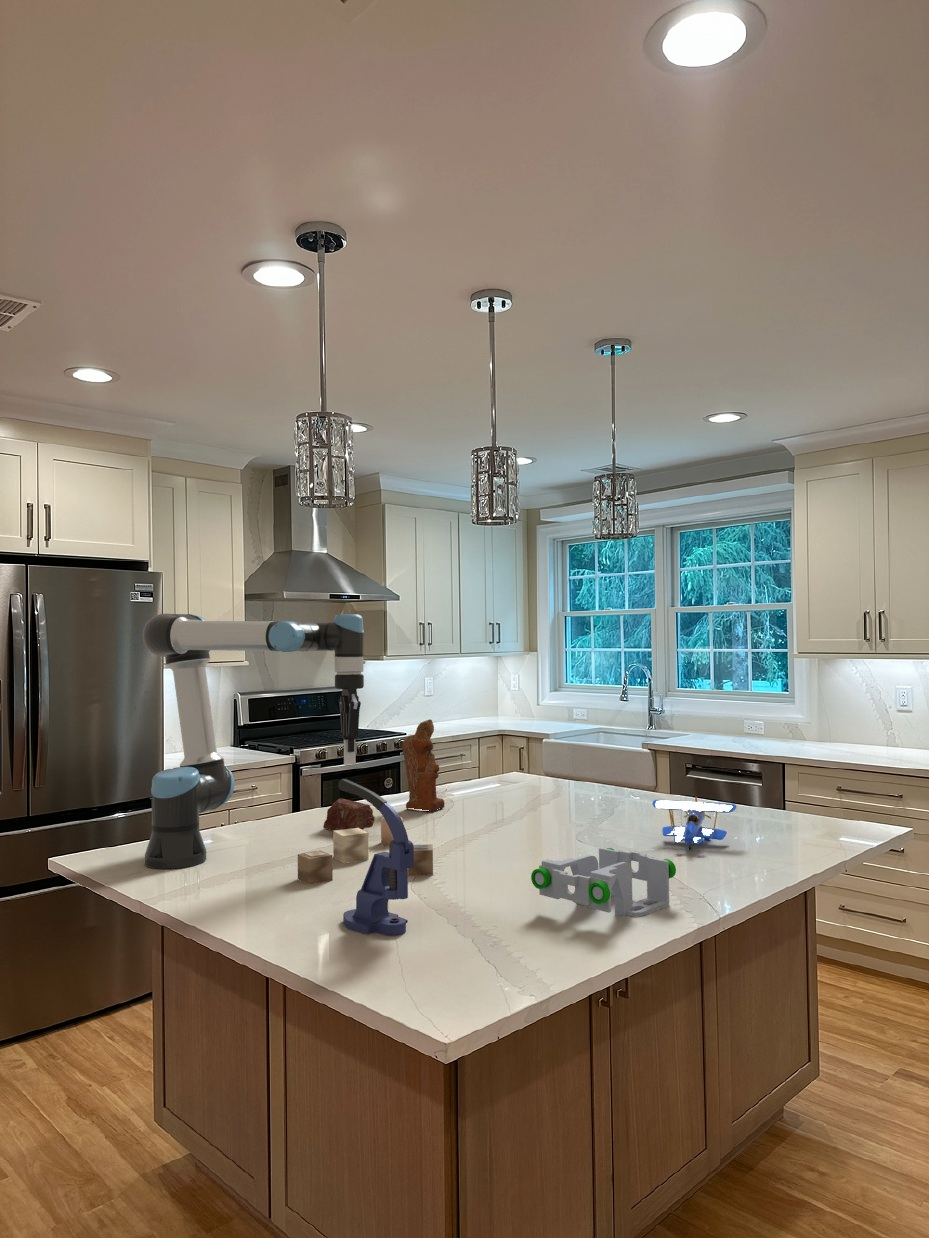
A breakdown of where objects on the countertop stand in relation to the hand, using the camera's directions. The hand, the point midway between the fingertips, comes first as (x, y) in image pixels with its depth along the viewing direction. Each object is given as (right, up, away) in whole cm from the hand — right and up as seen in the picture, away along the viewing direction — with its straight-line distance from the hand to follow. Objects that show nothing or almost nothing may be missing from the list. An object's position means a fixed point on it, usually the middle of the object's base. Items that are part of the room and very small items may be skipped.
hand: (349, 764), depth 225 cm
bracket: (+59, -23, -44) cm, 77 cm away
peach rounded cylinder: (+10, -25, +16) cm, 31 cm away
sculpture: (+17, -26, +64) cm, 72 cm away
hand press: (+12, -23, -54) cm, 60 cm away
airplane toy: (+92, -24, +10) cm, 96 cm away
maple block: (0, -24, -1) cm, 25 cm away
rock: (-5, -26, +32) cm, 41 cm away
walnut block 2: (+19, -24, -15) cm, 34 cm away
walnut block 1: (-5, -24, -20) cm, 32 cm away
